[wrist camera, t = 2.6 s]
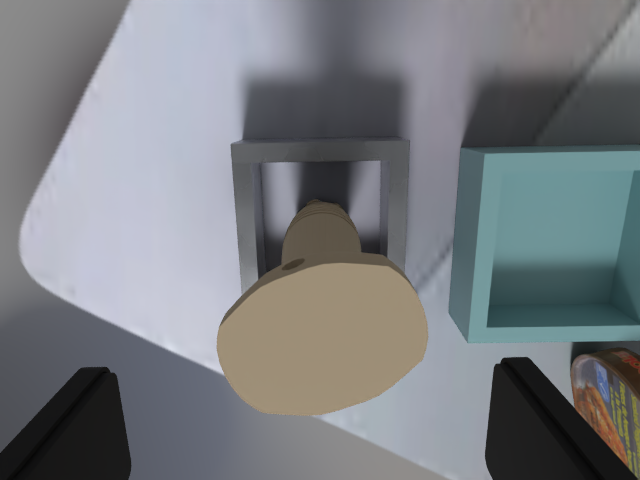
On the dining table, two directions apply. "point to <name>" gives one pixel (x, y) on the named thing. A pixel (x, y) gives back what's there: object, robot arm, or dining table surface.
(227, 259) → the dining table surface
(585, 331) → the tray
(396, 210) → the collar
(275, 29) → the dining table surface
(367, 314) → the handle
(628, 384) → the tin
